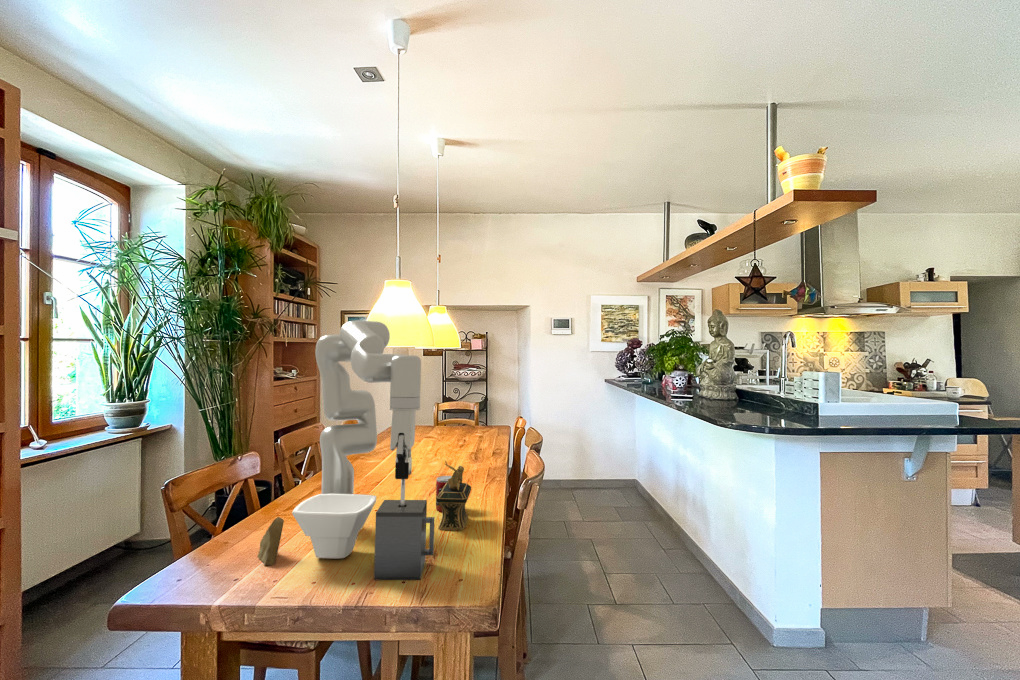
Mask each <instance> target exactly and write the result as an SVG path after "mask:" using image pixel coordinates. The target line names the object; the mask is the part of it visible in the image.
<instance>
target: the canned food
mask: <svg viewBox="0 0 1020 680" xmlns="http://www.w3.org/2000/svg"><path fill="white" fill-rule="evenodd" d="M451 477H452V475H442V476H438V477H436V484H435V486H436V487H435V491H436V492H435V499H436V498H437V496H438V494H439V492H440V491H441V489H442V488H443V486H444V485H445V484H446V483H448V482H447V481H448V479H450V478H451ZM435 510H436V511H437V512H438V511H439V513H443V512H442V508H441V506H440V505H439V504H438V503H437V502H436V501H435Z"/></svg>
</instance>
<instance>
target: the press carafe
mask: <svg viewBox="0 0 1020 680" xmlns="http://www.w3.org/2000/svg"><path fill="white" fill-rule="evenodd" d="M427 504H428V501H427V499H405V507H400V506H401V499H384V500H383V502H382V503H381V504H380V506H379V508H378V509H377V510H376V512H375V531H374V572H373V581H421V578H422V577H423V576H422V575H423V571H424V568H425V564H426V556H434V554H435V553H434V552H435V550H434V549H435V546H434V545H435V516H427V507H428V505H427ZM427 524H429V537H428V538H429V541H428V542H429V543H428V544H429V545H428V547H429V548H426V546H427V544H426V543H427Z"/></svg>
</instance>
